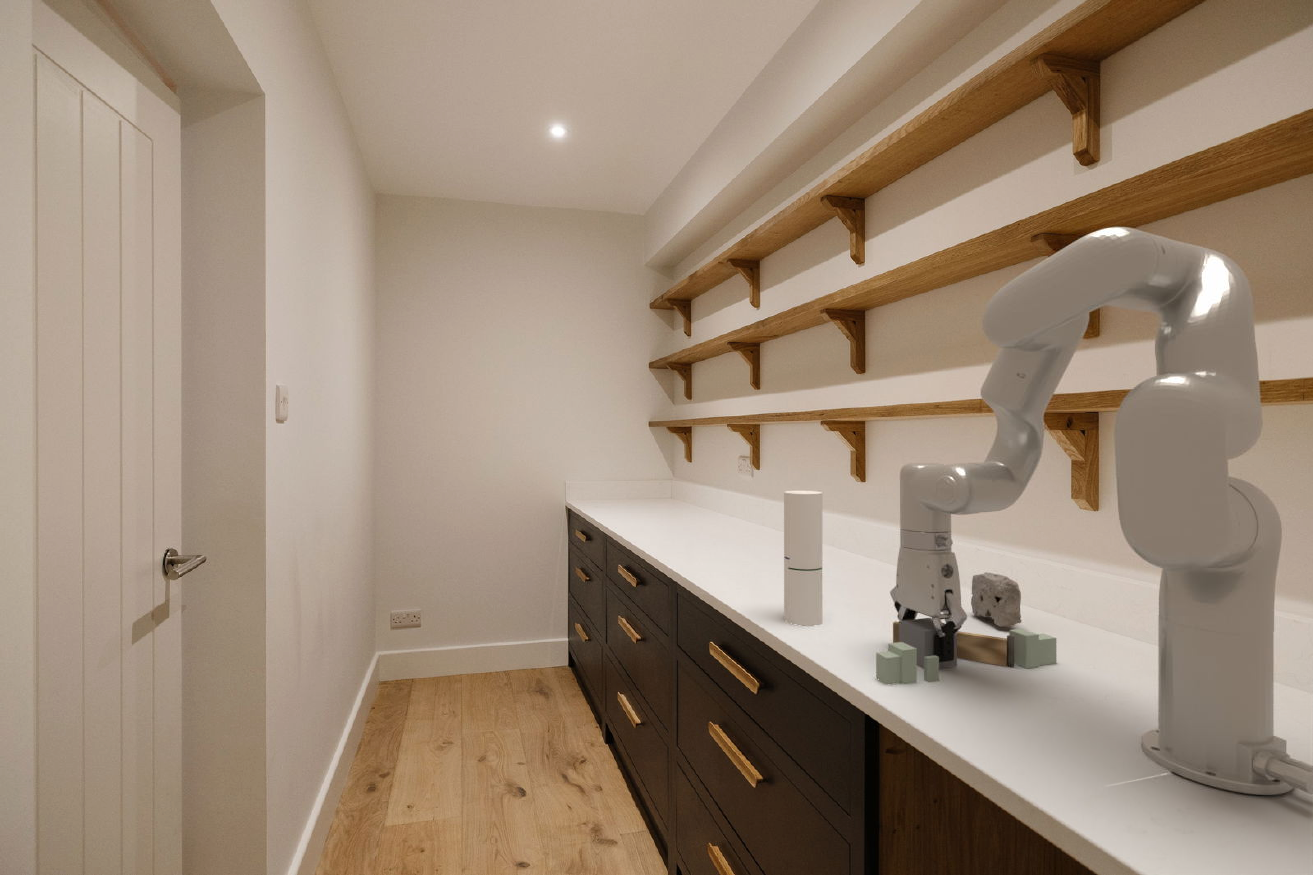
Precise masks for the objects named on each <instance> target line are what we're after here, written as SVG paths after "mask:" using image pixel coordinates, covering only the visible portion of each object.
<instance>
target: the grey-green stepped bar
mask: <svg viewBox="0 0 1313 875" xmlns="http://www.w3.org/2000/svg"><path fill="white" fill-rule="evenodd" d="M1008 631H1009V635H1011V636H1014V665H1017V666H1019V667H1022V668H1024V669H1033V668H1039V666H1047V665H1055V664H1057V637H1055V636H1051V635H1049V634H1047V633H1035V632H1032V631H1029V630H1026V629H1023V628H1016V629H1009V630H1008ZM887 644H888V647H887V650H888V651H880V652H875V654H876V655H875V673H876V674H875V678H877V679H879V680H880V681H879V680H878V681H879V682H881V683H882V682H884V683H885V684H884V683H883V684H884V685H886V684H890V685H894V684H893V683H899V684H901V683H902V684H901V685H908V684H916V683H918V680H917V679H918V676H917V674H918V673H917V672H918V671H917V668H918V666H917V649H916V648H914V647H912V646H910V645H908V644H905V643H903V642H897V643H893V642H890V643H887ZM939 673H940V668H939V657H938V656H936V655H935V656H926V657H924V669H923V681H925V682H927V683H928V682H938V681H940V674H939ZM877 679H876V680H877Z"/></svg>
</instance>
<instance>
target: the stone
mask: <svg viewBox="0 0 1313 875" xmlns="http://www.w3.org/2000/svg"><path fill="white" fill-rule="evenodd" d="M1019 586H1020V585H1019V584H1018V583H1017V581H1014V580H1013V579H1011V578H1010V577H1008V576H1006V575H1002V574H999V573H992V572H984V573H981V574H980V573H979V574H974V575H973V576H972V578H971V595H972V596H971V599H970V600H971V601H970V605H971V610H972V614H973V615H974V616H977V617H991V619H992V620H994V621H993V623H994V624H995V625H996V626H999V627H1009V626H1010V627H1011V626H1012V627H1014V626H1015V625H1017V624H1021V623H1022V615H1021V602H1022V601H1021V600H1022V594H1021V593H1022V592H1021V590H1020V587H1019Z"/></svg>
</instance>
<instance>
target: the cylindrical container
mask: <svg viewBox="0 0 1313 875" xmlns="http://www.w3.org/2000/svg"><path fill="white" fill-rule="evenodd" d="M783 556H784V557H783V603H784V604H783V610H784V611H783V614H784V615H783V620H784V622H785V621H787V622H788V623H787V622H786V623H787V624H789V623H792V624H791V625H793V624H797V625H796V626H798V625H801V626H800V627H815V626H814V625H817V626H820V625H822V624H823V492H822V491H817V490H816V491H815V490H787V491H784V492H783Z"/></svg>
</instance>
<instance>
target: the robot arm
mask: <svg viewBox="0 0 1313 875" xmlns="http://www.w3.org/2000/svg"><path fill="white" fill-rule="evenodd" d="M1253 301H1254V300H1253V294H1252V289H1251V285H1250V282H1249V279H1248V278H1247V276H1246V274H1245V273H1244V271H1243V270H1242V268H1241V267H1240V266H1239V265H1238V264H1237V263H1236V262H1235V261H1234V260H1233V259H1232V258H1230V257H1228V256H1227V255H1226V254H1223V253H1221V252H1220V251H1216V250H1214V249H1210V248H1208V247H1204V246H1200V245H1195V244H1191V243H1187V242H1182V241H1178V240H1174V239H1170V238H1168V237H1165V236H1161V235H1156V234H1152V233H1150V232H1147V231H1142V230H1140V229H1137V228H1133V227H1129V226H1128V227H1126V226H1112V227H1106V228H1102V229H1099V230H1096V231H1092V232H1090V233H1087V234H1086V235H1084V236H1082V237H1080V238H1078V239H1077V240H1075V241H1073V242H1072V243H1070V244H1068V245H1067V246H1065V247H1063V248H1061V249H1060V250H1058V251H1057V252H1055V253H1054V254H1052V255H1050V256H1049V257H1047V258H1046V259H1044V260H1042V261H1039V263H1037V264H1035V265H1034V266H1032V267H1031V268H1028V269H1027V270H1026V271H1024V272H1022V273H1020V274H1019V275H1018V276H1016V277H1015V278H1013V279H1012V280H1010V281H1009V282H1008V283H1006V284H1005V285H1003V286H1002V287H1001V288H999V289H998V291H996V293H995V294H994V295H993V296H992V297H991V298H990V300H989V301H988V303H987V305H986V306H985V308H984V312H983V315H982V321H981V323H982V330H983V333H984V335H985V336H986V338H987V340H988V341H990V343H992V344H993V345H995V346H997V347H1000V348H999V350H998V351H997V354H996V356H995V358H994V360H993V362H992V364H991V367H990V369H989V371H988V373H987V375H986V377H985V379H984V381H983V383H982V385H981V388H980V396H981V399H982V400H983V402H984V403H985V404H987V405H988V406H989V407H990V409H991V410H992V411H993V413H994V415H995V418H996V423H997V424H996V425H997V426H996V428H997V429H996V435H995V438H994V440H993V443H992V445H991V448H990V449H989V452H988V454H987V456H986V457H985V460H984V461H982V462H968V463H965V462H964V463H950V464H949V463H948V464H944V463H939V462H937V463H935V462H934V463H933V462H932V463H931V462H911V463H906V464H904V465H903V466H902V467H901V468H900V472H899V526H900V527H899V533H900V534H899V536H900V537H899V538H900V539H899V540H900V541H899V543H900V544H899V550H898V556H897V563H896V565H897V566H896V575H895V576H896V578H895V586H894V587H893V588H892V589H891V590H890V591H889V594H890V598H891V600H892V601H893V603H894V604H893V607H894V608H895V610H896V612H897V619H898V621H903V620H913V619H917V616H918V614H921V615H923V616H926V617H928V618H932V620H933V623H934V626H935V628H936V631H937V634H938V635H934V656H935V655H936V656H938V657H939V662H945V661H952V660H954V635H957V631H960V629H961V628H962V627H963V624H964V623H965V622H966V621H967V619H968V615H967V612H965V609H963V607H962V593H961V579H960V572H959V565H958V560H957V558H956V557H957V556H956V554H955V552H953V551H952V546H953V543H954V541H953V540H952V515H957V516H962V515H974V514H979V513H980V514H981V513H992V512H999V511H1003V510H1006V509H1008V508H1010V507H1012V506H1013V505H1014V504H1015V503H1016V502H1017V501H1018V500H1019V498H1020V497H1021V496H1022V494H1023V493H1024V491H1025V490H1026V488H1027V486H1028V484H1029V483H1030V482H1031V479H1032V478H1033V475H1034V473H1035V471H1036V470H1037V467H1038V466H1039V463H1040V460H1041V458H1042V454H1043V450H1044V449H1043V448H1044V441H1045V440H1044V437H1045V420H1044V415H1045V413H1046V412H1045V411H1046V410H1047V407H1048V406H1049V404H1050V402H1051V399H1052V398H1053V396H1054V394H1055V392H1056V390H1057V388H1058V386H1059V384H1060V382H1061V380H1062V378H1063V376H1064V375H1065V372H1066V370H1067V368H1068V367H1069V365H1070V363H1071V361H1072V358H1073V357H1074V355H1075V353H1076V351H1077V349H1078V347H1079V346H1080V344H1081V341H1082V339H1083V338H1084V335H1085V333H1086V331H1087V329H1088V327H1089V326H1088V325H1089V322H1090V313H1091V312H1093V311H1095V310H1098V309H1100V308H1102V307H1105V306H1110V307H1114V308H1119V309H1127V310H1133V311H1139V312H1140V311H1141V312H1142V311H1143V312H1150V313H1154V314H1156V315H1157V317H1158V318H1159V324H1158V326H1157V330H1156V334H1155V339H1154V340H1155V341H1154V356H1155V361H1156V362H1155V364H1156V365H1155V366H1156V376H1152V377H1149V378H1147V379H1146V380H1144V381H1141V382H1140V383H1138V384H1136V386H1134V387H1133V388H1132V389H1131V390H1130V391H1129V392H1128V394H1126V395H1125V397H1124V398H1123V400H1122V401H1121V403H1120V405H1119V407H1118V411H1117V413H1116V416H1115V421H1114V422H1115V423H1114V431H1113V432H1114V456H1115V476H1116V477H1115V478H1116V493H1117V509H1118V511H1117V513H1118V520H1119V525H1120V528H1121V531H1122V534H1123V536H1124V539H1125V541H1126V542H1127V544H1128V545H1129V546H1130V548H1131V550H1133V552H1134V553H1135V554H1136V555H1138V556H1139V558H1141V559H1142V560H1144V561H1145V562H1147V563H1149V564H1150V565H1153V566H1155V567H1157V568H1160V569H1161V576H1160V581H1159V591H1158V615H1157V616H1158V619H1157V620H1158V622H1157V623H1158V631H1157V632H1158V635H1157V637H1158V640H1157V641H1158V643H1157V644H1158V646H1157V647H1158V648H1157V649H1158V652H1157V654H1158V657H1157V658H1158V659H1157V660H1158V661H1157V662H1158V666H1157V667H1158V668H1157V669H1158V671H1157V672H1158V675H1157V676H1158V678H1157V679H1158V685H1157V687H1158V708H1157V709H1158V710H1157V711H1158V729H1154V730H1153V729H1152V730H1149V731H1147V732H1145V733H1143V734H1142V736H1141V740H1140V741H1141V745H1140V747H1141V750H1142V752H1143V753H1144V754H1145V756H1147V757H1148V758H1149V759H1150V760H1151V761H1152V762H1154V763H1156V764H1157V765H1159V766H1161V767H1162V768H1164V769H1166V770H1168V771H1171V773H1174V774H1176V775H1178V776H1181V777H1183V778H1185V779H1187V780H1191V781H1194V782H1196V783H1199V784H1203V785H1207V786H1210V787H1211V788H1212V787H1213V788H1216V789H1220V790H1224V791H1225V790H1226V791H1230V792H1235V793H1242V794H1247V795H1248V794H1249V795H1258V796H1259V795H1261V796H1274V795H1282V794H1285V793H1288V792H1290V791H1291V790H1293V789H1294V788H1295V789H1298V790H1300V791H1302V792H1305V793H1308V794H1309V795H1313V765H1312V764H1309V763H1307V762H1304V761H1302V760H1297V759H1295V758H1292V757H1291V756H1290V754H1289V753H1287V740H1286V739H1284V738H1282V737H1281V738H1280V737H1278V736H1275V734H1274V732H1275V730H1274V725H1275V724H1274V722H1275V721H1274V720H1275V719H1274V714H1275V713H1274V709H1275V708H1274V706H1275V705H1274V700H1275V698H1274V690H1275V688H1274V687H1275V686H1274V678H1275V677H1274V676H1275V675H1274V674H1275V673H1274V669H1275V668H1274V667H1275V666H1274V657H1275V656H1274V641H1275V640H1274V637H1275V636H1274V632H1275V598H1276V597H1275V594H1276V582H1277V574H1278V568H1279V561H1280V553H1281V547H1282V538H1283V536H1282V535H1283V532H1282V531H1283V530H1282V523H1281V517H1280V514H1279V511H1278V509H1277V507H1276V505H1275V503H1274V502H1273V500H1271V498H1270V496H1268V495H1267V494H1266V493H1265V492H1264V491H1263V490H1262V489H1261V488H1259V487H1257V486H1255V485H1254V484H1252V483H1250V482H1248V481H1245V480H1243V479H1242V478H1240V479H1239V478H1237V477H1234V476H1233V477H1232V476H1229V462H1228V461H1229V460H1233V459H1236V458H1238V457H1241V456H1242V455H1245V454H1246V453H1247V452H1249V451H1250V450H1251V449H1252V448H1253V447H1254V446H1255V445H1256V444H1257V442H1258V441H1259V438H1260V437H1261V434H1262V430H1263V413H1262V401H1261V390H1260V388H1261V387H1260V386H1261V385H1260V375H1259V374H1260V372H1259V361H1258V358H1259V357H1258V352H1257V343H1256V332H1255V331H1256V330H1255V316H1254V314H1255V313H1254V302H1253ZM942 620H944V621H945V625H944V626H943V624H942V623H943V622H942Z"/></svg>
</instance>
